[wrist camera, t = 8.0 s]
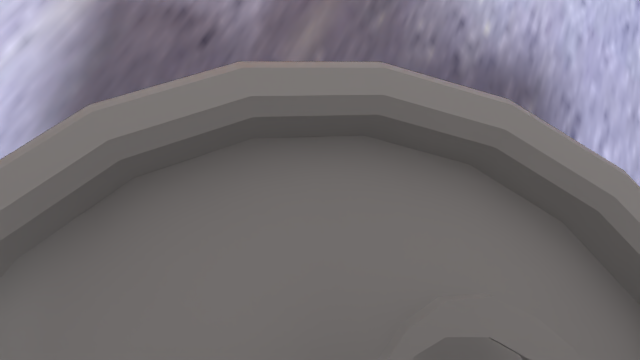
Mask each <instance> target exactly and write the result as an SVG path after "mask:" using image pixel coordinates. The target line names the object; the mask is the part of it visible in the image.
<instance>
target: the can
mask: <svg viewBox="0 0 640 360" xmlns="http://www.w3.org/2000/svg"><path fill="white" fill-rule="evenodd" d="M0 360H640V187H639V186H638V185H637V184H636V183H635V182H634V181H633V179H632V178H631V177H630V176H629V175H628V174H627V173H626V172H625V171H624V170H622V169H621V168H619V167H618V166H616V165H614V164H613V163H611V162H609V161H608V160H606V159H605V158H603V157H601V156H600V155H598V154H596V153H595V152H593V151H592V150H590V149H588V148H587V147H585V146H584V145H582V144H580V143H579V142H577V141H575V140H574V139H572V138H571V137H569V136H567V135H566V134H564V133H563V132H561V131H559V130H558V129H556V128H554V127H553V126H551V125H550V124H548V123H546V122H545V121H543V120H541V119H540V118H538V117H537V116H535V115H533V114H532V113H530V112H529V111H527V110H525V109H524V108H522V107H520V106H519V105H517V104H516V103H514V102H512V101H511V100H509V99H506V98H503V97H500V96H496V95H493V94H489V93H486V92H482V91H479V90H476V89H472V88H469V87H465V86H462V85H458V84H455V83H452V82H448V81H445V80H441V79H438V78H435V77H431V76H428V75H424V74H421V73H417V72H414V71H411V70H407V69H404V68H400V67H397V66H393V65H390V64H387V63H383V62H324V61H239V62H236V63H232V64H229V65H225V66H222V67H218V68H215V69H211V70H208V71H204V72H201V73H198V74H194V75H191V76H187V77H184V78H180V79H177V80H173V81H170V82H166V83H163V84H159V85H156V86H152V87H149V88H145V89H142V90H138V91H135V92H132V93H128V94H125V95H121V96H118V97H114V98H111V99H107V100H104V101H100V102H97V103H93V104H90V105H88V106H86V107H84V108H83V109H81V110H80V111H78V112H76V113H75V114H73V115H72V116H70V117H68V118H67V119H65V120H63V121H62V122H60V123H59V124H57V125H55V126H54V127H52V128H51V129H49V130H47V131H46V132H44V133H42V134H41V135H39V136H38V137H36V138H34V139H33V140H31V141H29V142H28V143H26V144H25V145H23V146H21V147H20V148H18V149H17V150H15V151H13V152H12V153H10V154H8V155H7V156H5V157H4V158H2V159H0Z"/></svg>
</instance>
